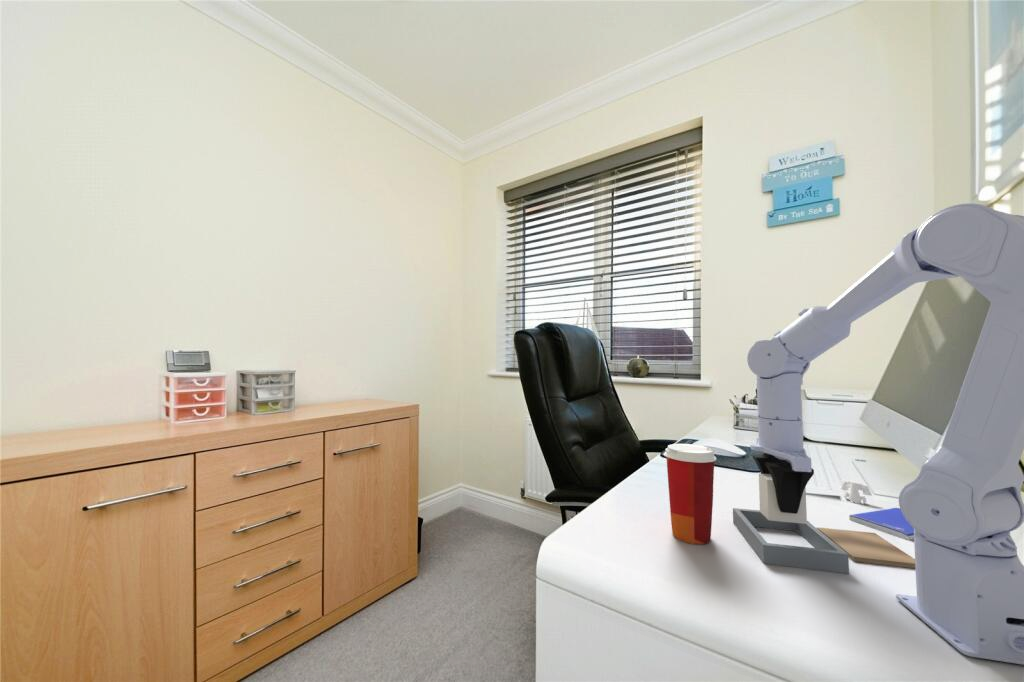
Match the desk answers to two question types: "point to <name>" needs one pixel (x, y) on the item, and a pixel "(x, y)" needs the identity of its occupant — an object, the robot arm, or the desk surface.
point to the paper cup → (690, 491)
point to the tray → (815, 558)
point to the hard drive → (886, 522)
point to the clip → (855, 491)
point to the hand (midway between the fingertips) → (782, 507)
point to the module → (771, 506)
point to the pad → (868, 548)
